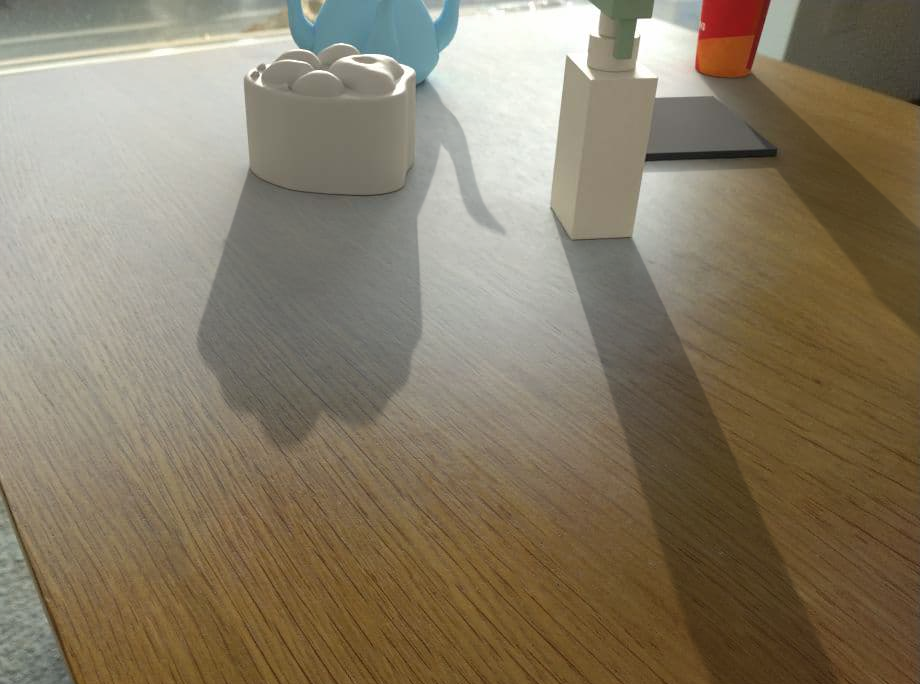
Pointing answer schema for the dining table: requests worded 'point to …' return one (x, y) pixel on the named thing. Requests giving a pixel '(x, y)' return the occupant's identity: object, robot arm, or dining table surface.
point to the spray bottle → (604, 127)
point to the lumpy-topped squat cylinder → (331, 121)
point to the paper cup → (729, 36)
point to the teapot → (378, 29)
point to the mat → (701, 131)
